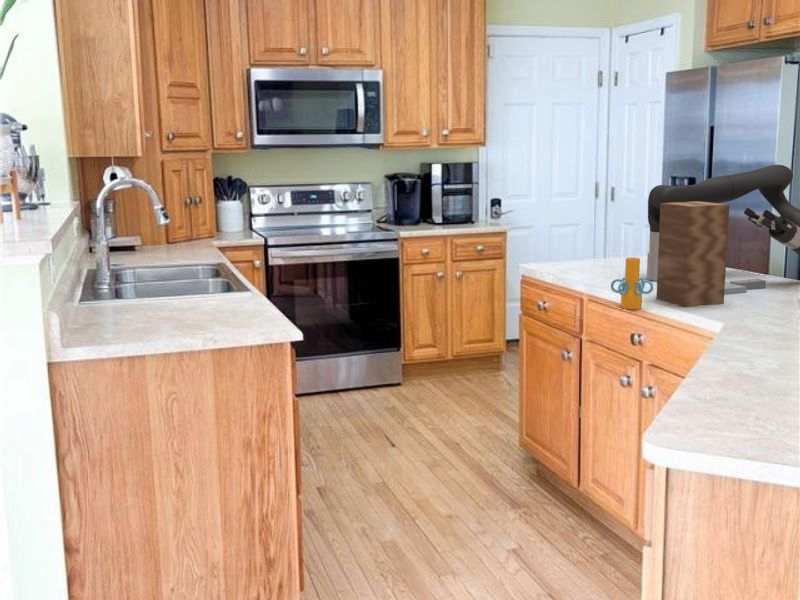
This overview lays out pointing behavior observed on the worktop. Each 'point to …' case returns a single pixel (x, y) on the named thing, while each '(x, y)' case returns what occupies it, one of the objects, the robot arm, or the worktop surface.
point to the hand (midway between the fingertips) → (754, 211)
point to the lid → (743, 286)
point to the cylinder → (631, 285)
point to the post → (692, 253)
